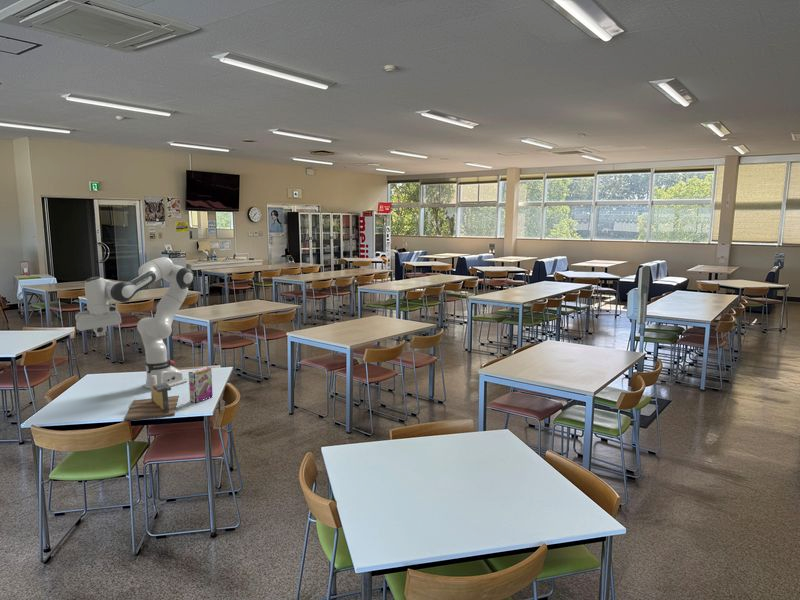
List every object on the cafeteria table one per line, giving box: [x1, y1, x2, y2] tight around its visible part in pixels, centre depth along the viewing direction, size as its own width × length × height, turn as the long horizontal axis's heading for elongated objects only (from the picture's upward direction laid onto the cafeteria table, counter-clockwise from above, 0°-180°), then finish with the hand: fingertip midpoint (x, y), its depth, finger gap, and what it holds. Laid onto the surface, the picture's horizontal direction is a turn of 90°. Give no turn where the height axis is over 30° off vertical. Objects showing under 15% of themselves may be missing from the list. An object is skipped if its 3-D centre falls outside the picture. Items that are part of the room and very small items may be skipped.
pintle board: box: [123, 383, 180, 422], centre depth 270 cm, size 28×22×14 cm
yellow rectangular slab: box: [150, 375, 163, 409], centre depth 272 cm, size 20×3×13 cm, turn 40°
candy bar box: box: [188, 366, 213, 403], centre depth 282 cm, size 11×5×16 cm, turn 149°
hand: (100, 336), depth 271 cm, fingers closed
